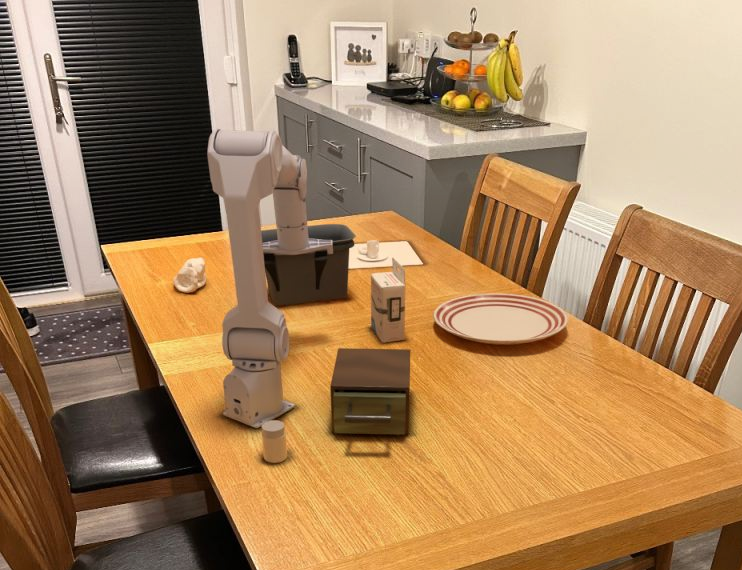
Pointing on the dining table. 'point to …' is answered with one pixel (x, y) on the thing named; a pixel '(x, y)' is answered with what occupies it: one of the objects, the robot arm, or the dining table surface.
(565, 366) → the dining table surface
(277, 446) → the salt shaker
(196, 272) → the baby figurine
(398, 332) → the ink box
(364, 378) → the cabinet
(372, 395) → the drawer
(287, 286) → the storage bin
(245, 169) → the robot arm
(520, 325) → the dinner plate
